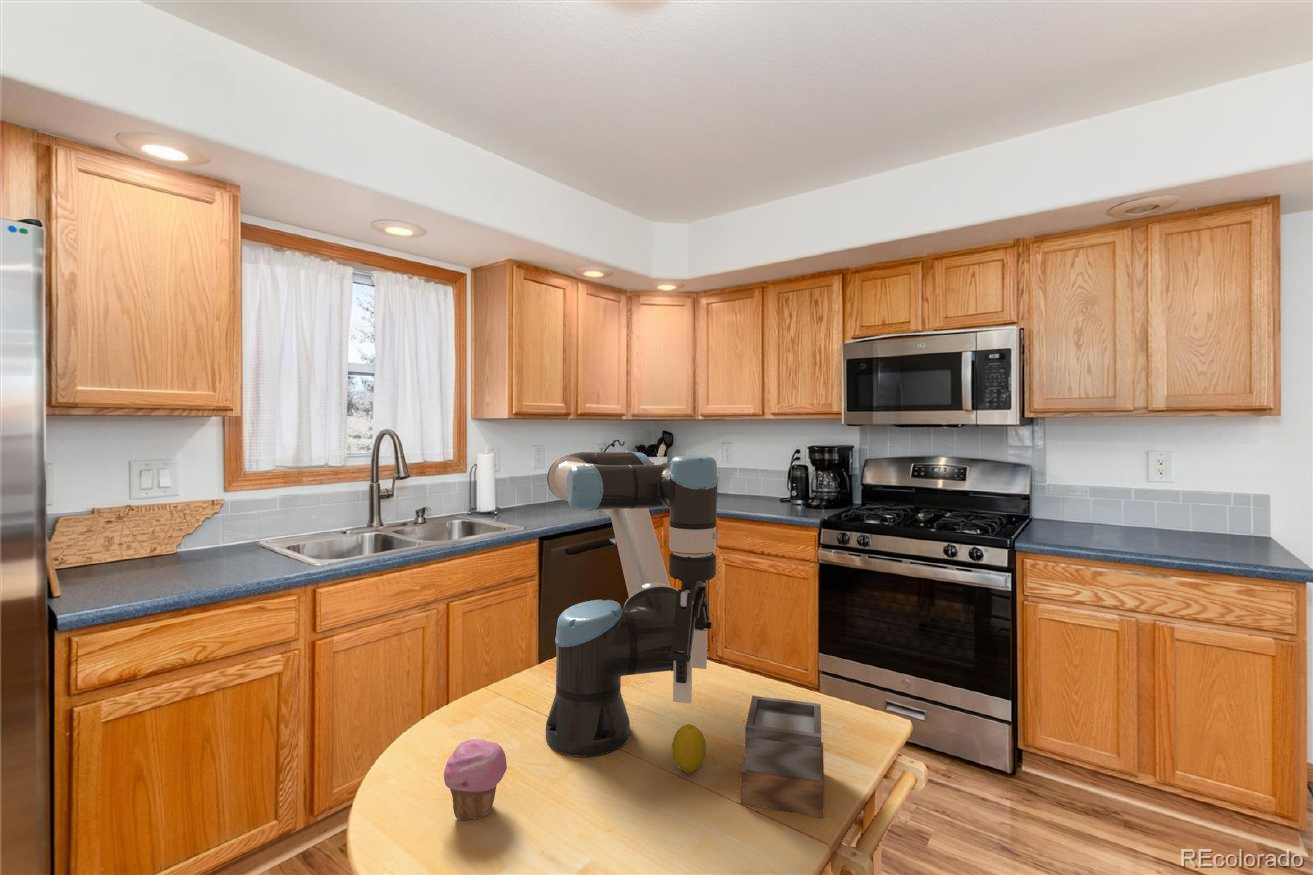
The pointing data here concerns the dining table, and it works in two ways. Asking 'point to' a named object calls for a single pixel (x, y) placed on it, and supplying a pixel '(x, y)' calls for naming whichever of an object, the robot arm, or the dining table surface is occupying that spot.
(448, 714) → the dining table surface
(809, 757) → the grey storage bin
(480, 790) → the cupcake
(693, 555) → the robot arm
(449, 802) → the dining table surface
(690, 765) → the lemon
